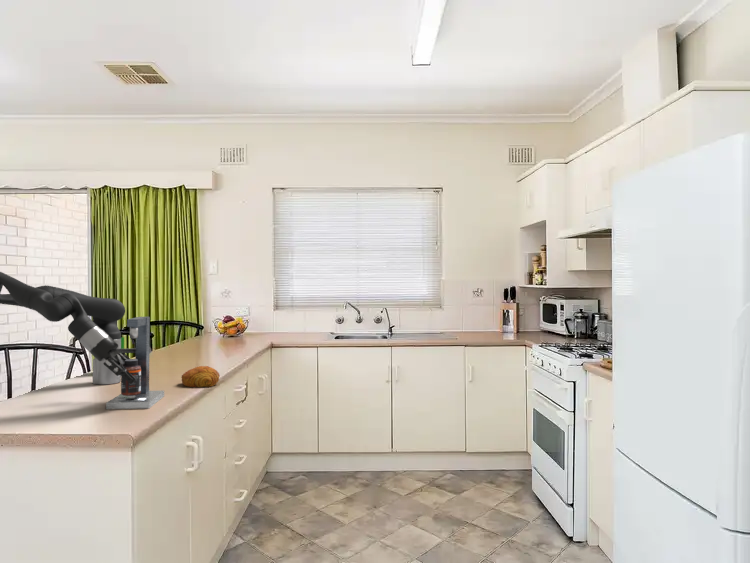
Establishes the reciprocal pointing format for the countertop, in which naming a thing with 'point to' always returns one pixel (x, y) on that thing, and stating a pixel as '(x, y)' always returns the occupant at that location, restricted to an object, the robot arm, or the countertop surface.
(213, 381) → the croissant
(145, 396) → the press
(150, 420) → the countertop surface
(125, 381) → the supplement bottle
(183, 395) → the countertop surface
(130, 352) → the lever
